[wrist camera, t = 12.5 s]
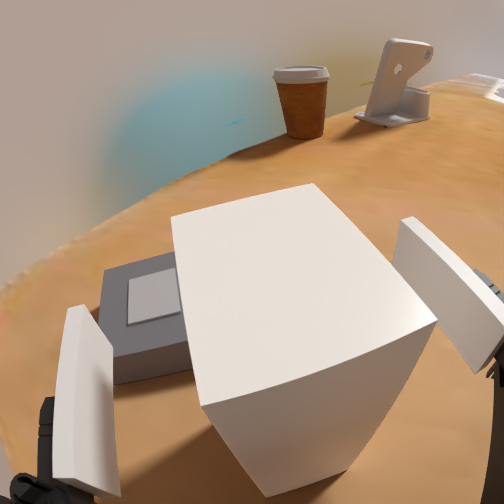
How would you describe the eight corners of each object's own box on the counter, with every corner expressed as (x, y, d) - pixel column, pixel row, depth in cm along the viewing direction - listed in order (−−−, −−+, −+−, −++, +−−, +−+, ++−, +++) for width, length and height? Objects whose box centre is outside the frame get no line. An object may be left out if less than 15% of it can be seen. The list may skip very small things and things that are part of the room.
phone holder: (399, 108, 66) (398, 39, 55) (433, 119, 59) (435, 44, 48) (352, 117, 60) (349, 35, 49) (389, 128, 53) (389, 37, 42)
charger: (308, 382, 18) (310, 181, 10) (347, 469, 13) (437, 319, 5) (236, 404, 17) (170, 214, 9) (265, 497, 13) (201, 406, 5)
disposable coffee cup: (336, 141, 49) (334, 70, 41) (279, 144, 50) (271, 72, 42) (327, 125, 56) (324, 65, 49) (277, 127, 57) (271, 67, 50)
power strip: (334, 238, 29) (336, 203, 26) (388, 306, 22) (397, 268, 19) (117, 296, 26) (101, 263, 24) (115, 384, 19) (90, 354, 17)
